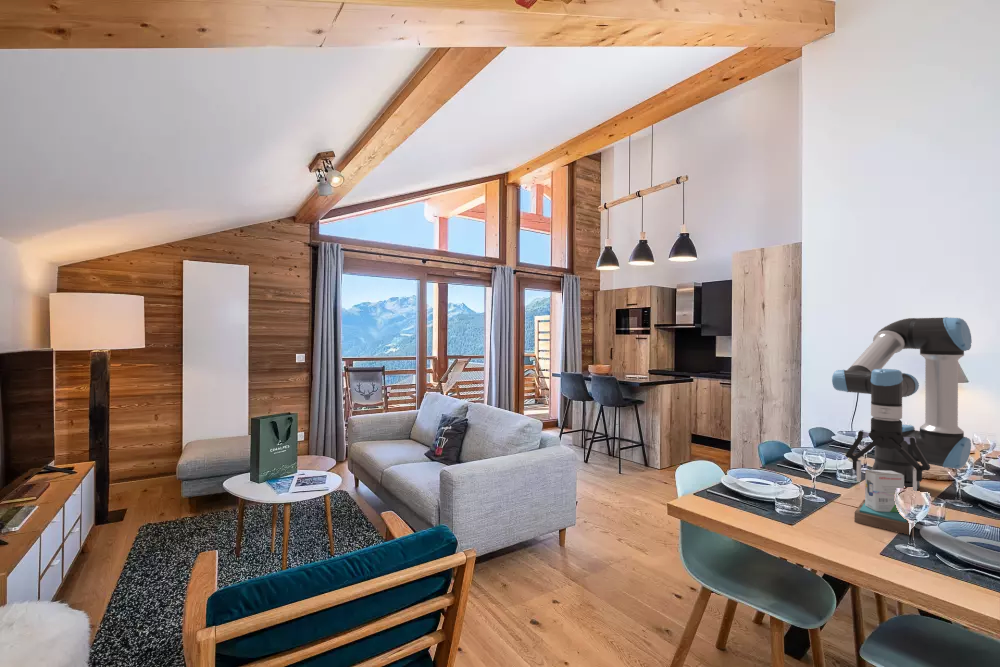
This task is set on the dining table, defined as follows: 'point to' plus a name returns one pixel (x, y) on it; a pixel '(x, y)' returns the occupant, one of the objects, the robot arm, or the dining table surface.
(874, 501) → the ink box
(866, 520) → the walnut tray
